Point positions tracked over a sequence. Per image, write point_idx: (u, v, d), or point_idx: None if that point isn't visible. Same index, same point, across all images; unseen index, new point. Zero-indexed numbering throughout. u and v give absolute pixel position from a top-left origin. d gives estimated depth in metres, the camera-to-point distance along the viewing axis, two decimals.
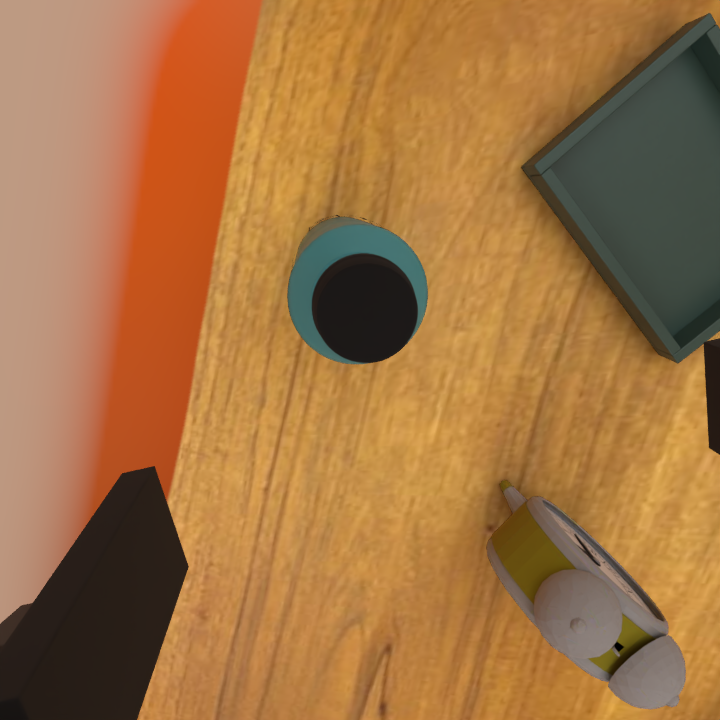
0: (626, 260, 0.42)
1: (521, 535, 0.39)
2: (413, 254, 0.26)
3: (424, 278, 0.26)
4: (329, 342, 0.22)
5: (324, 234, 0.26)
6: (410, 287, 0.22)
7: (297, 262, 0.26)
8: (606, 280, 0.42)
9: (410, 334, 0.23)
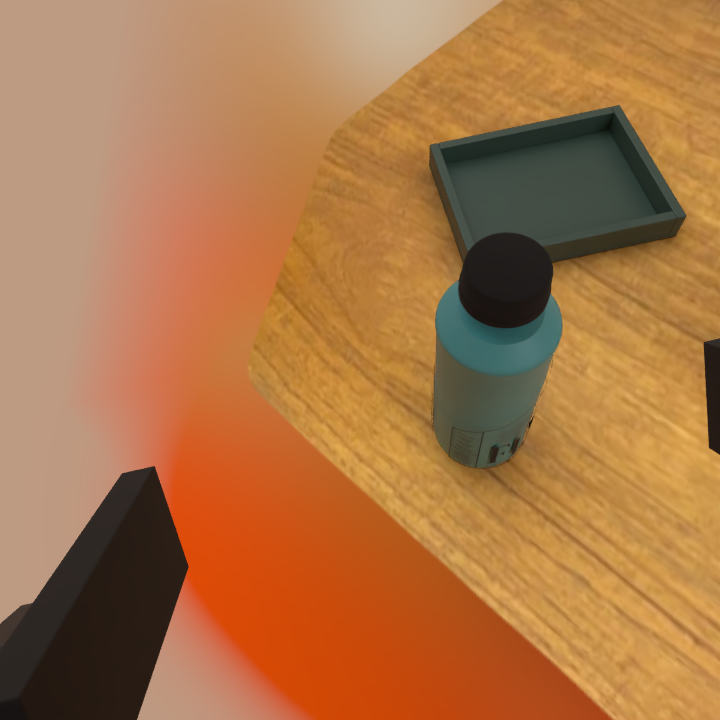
0: None
1: None
2: None
3: None
4: (517, 297, 0.25)
5: (436, 320, 0.30)
6: (502, 233, 0.27)
7: (447, 347, 0.29)
8: (589, 251, 0.49)
9: (540, 245, 0.26)
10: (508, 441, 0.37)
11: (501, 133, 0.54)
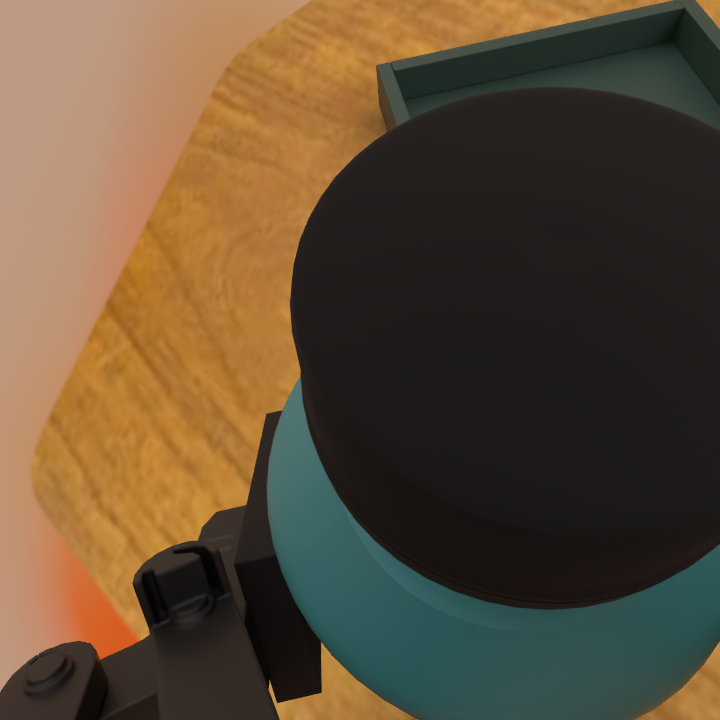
0: None
1: None
2: None
3: None
4: (647, 506, 0.03)
5: (269, 468, 0.08)
6: None
7: (295, 592, 0.07)
8: None
9: None
10: None
11: (496, 43, 0.32)
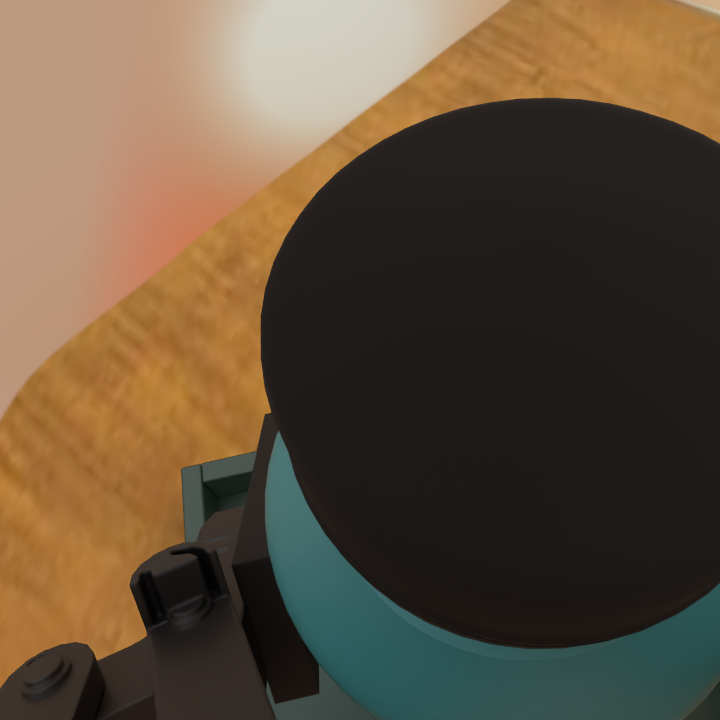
0: None
1: None
2: None
3: None
4: (608, 569, 0.03)
5: (268, 474, 0.08)
6: None
7: (286, 601, 0.07)
8: None
9: None
10: None
11: None
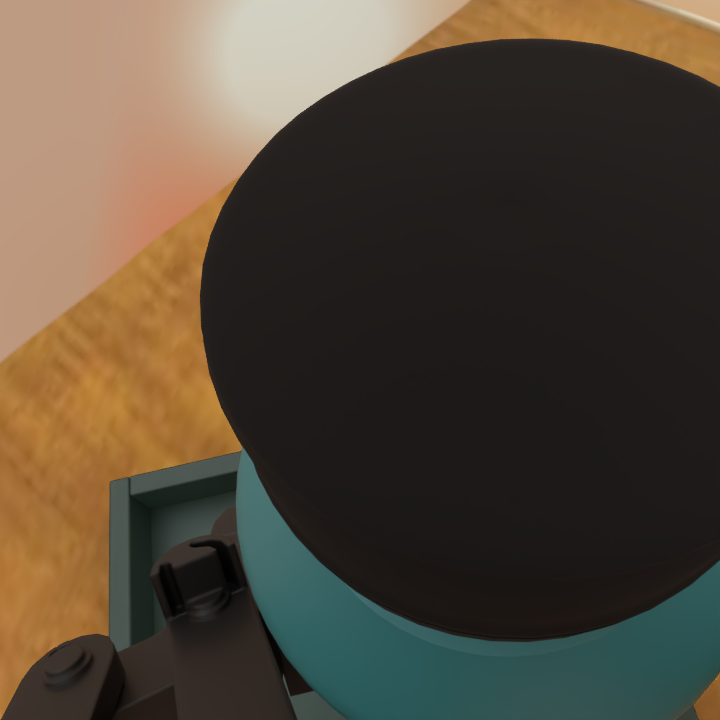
0: None
1: None
2: None
3: None
4: (565, 545, 0.03)
5: (241, 455, 0.08)
6: (489, 47, 0.04)
7: (253, 587, 0.07)
8: None
9: None
10: None
11: None
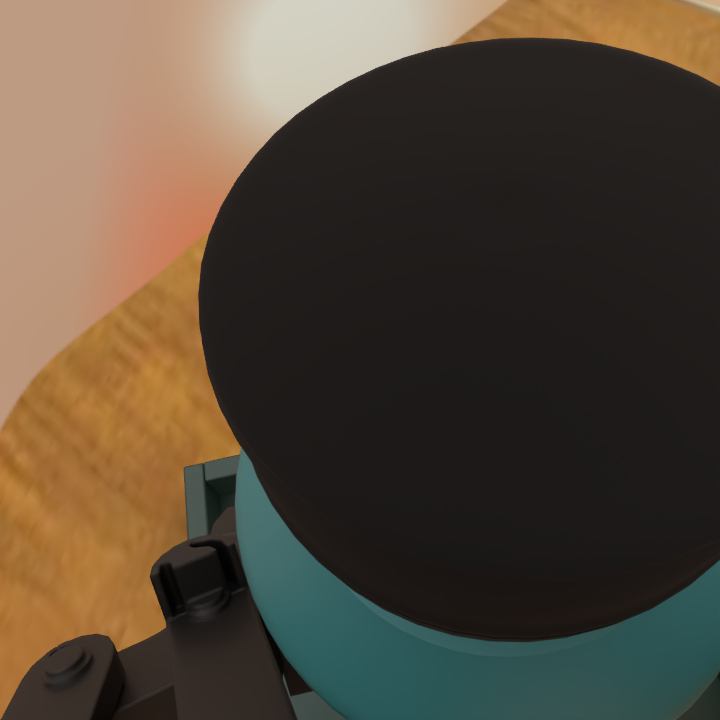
0: None
1: None
2: None
3: None
4: (565, 545, 0.03)
5: (240, 455, 0.08)
6: (489, 46, 0.04)
7: (252, 587, 0.07)
8: None
9: None
10: None
11: None
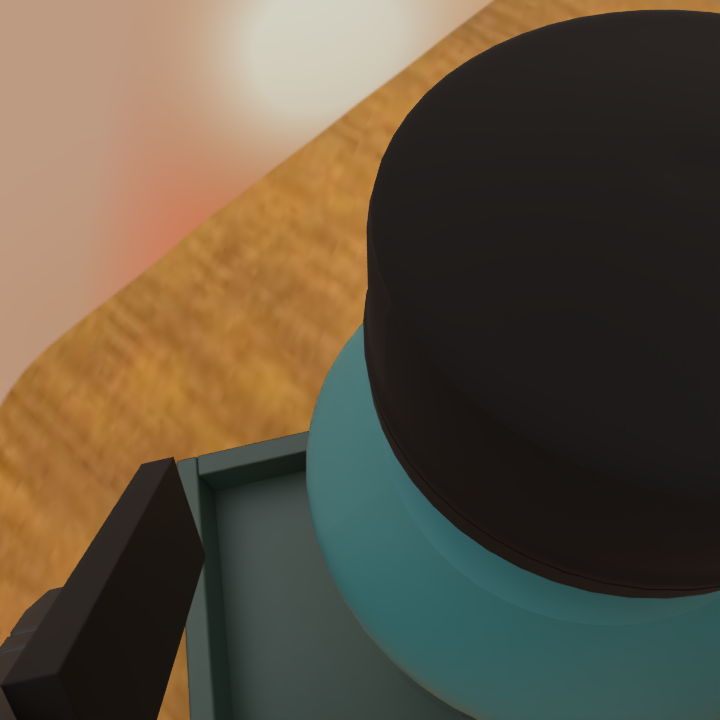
0: None
1: None
2: None
3: None
4: None
5: (310, 432, 0.08)
6: None
7: (330, 562, 0.07)
8: None
9: None
10: None
11: None
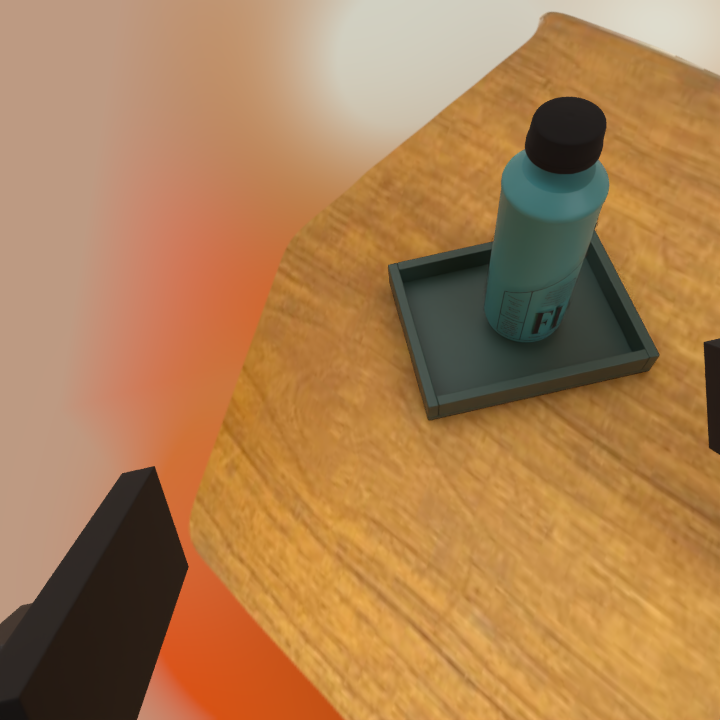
0: (545, 368, 0.47)
1: None
2: None
3: None
4: (576, 142, 0.31)
5: (502, 179, 0.36)
6: None
7: (511, 199, 0.35)
8: (556, 389, 0.46)
9: (596, 106, 0.32)
10: (551, 309, 0.43)
11: (464, 251, 0.51)
